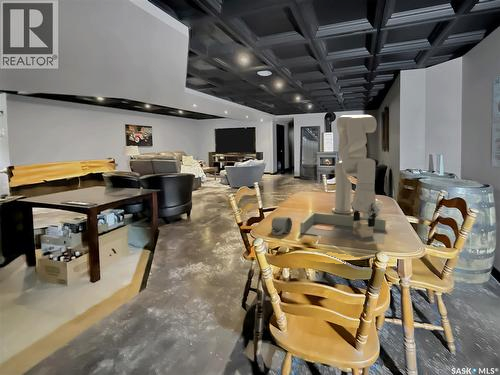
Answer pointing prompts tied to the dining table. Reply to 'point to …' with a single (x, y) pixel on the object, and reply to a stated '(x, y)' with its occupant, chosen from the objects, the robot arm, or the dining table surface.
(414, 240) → the dining table surface
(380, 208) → the candle holder
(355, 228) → the birch cube
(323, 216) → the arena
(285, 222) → the ceramic mug
